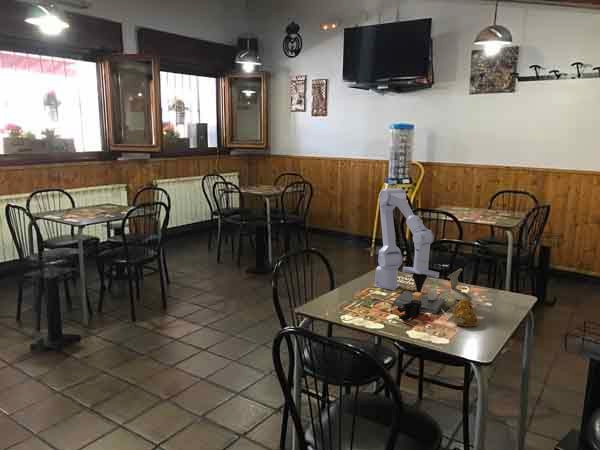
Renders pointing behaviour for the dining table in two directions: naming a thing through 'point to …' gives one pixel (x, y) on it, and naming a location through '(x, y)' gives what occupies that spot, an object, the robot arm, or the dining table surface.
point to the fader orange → (417, 296)
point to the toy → (410, 310)
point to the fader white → (432, 294)
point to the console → (426, 304)
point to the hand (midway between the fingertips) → (418, 291)
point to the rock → (464, 314)
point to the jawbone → (455, 283)
